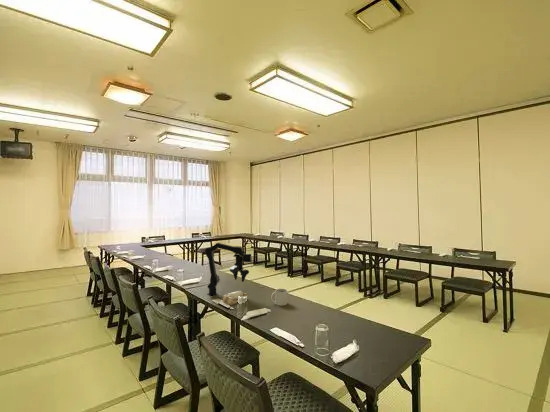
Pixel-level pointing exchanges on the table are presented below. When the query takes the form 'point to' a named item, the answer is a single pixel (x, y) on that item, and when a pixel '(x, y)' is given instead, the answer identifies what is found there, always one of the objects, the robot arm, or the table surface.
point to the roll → (235, 295)
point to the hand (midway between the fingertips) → (239, 280)
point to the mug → (280, 297)
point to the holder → (231, 299)
